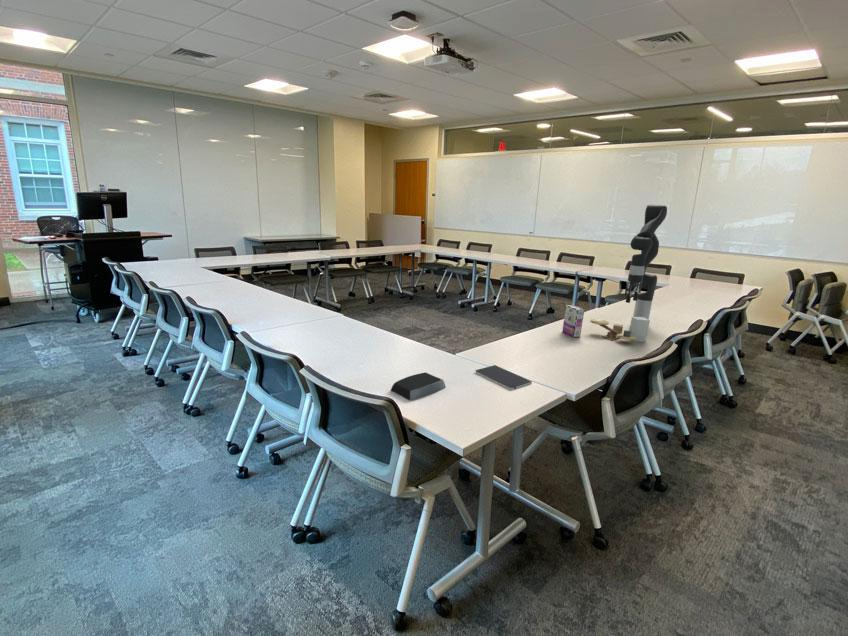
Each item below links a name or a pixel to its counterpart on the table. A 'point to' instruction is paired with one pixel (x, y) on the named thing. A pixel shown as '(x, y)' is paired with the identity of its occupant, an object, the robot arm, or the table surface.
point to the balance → (613, 331)
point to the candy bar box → (573, 320)
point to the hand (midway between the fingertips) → (631, 301)
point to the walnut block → (618, 327)
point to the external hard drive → (418, 386)
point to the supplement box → (639, 328)
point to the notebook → (503, 377)
